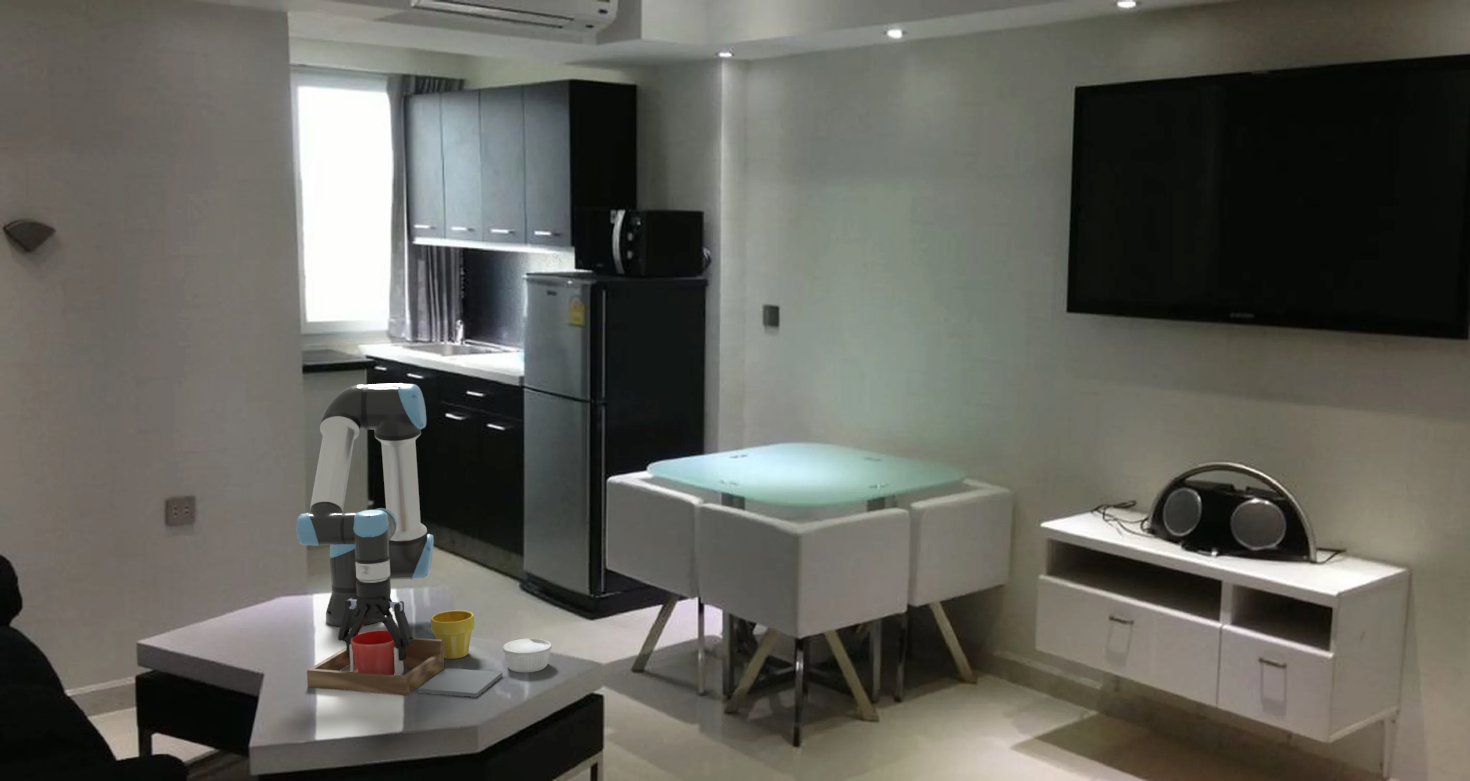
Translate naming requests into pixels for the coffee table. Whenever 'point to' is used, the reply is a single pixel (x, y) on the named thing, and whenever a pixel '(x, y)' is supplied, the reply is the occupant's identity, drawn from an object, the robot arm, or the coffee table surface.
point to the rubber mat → (460, 682)
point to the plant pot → (453, 632)
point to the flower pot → (374, 652)
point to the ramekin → (527, 654)
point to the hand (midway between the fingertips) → (377, 671)
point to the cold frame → (418, 656)
